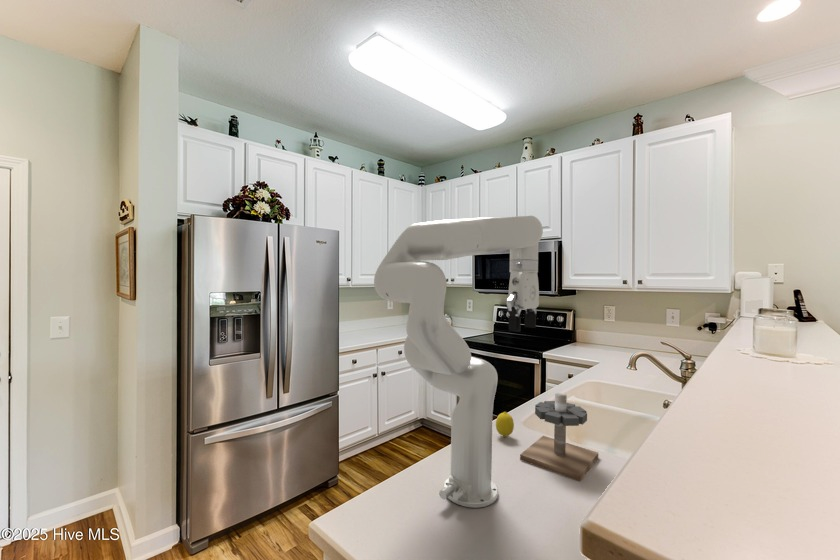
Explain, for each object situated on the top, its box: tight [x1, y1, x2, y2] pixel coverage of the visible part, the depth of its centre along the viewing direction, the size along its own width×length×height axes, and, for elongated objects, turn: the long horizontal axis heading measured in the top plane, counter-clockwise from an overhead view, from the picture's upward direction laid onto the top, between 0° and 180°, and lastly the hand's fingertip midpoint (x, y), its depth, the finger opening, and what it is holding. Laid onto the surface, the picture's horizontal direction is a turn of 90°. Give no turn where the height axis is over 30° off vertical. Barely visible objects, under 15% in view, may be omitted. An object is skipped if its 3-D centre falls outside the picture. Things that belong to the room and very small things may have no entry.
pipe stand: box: [519, 392, 599, 482], centre depth 103 cm, size 16×16×18 cm
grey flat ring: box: [534, 400, 588, 427], centre depth 102 cm, size 13×13×2 cm
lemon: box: [495, 411, 515, 438], centre depth 116 cm, size 6×6×8 cm
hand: (522, 329), depth 101 cm, fingers open, 9 cm apart
